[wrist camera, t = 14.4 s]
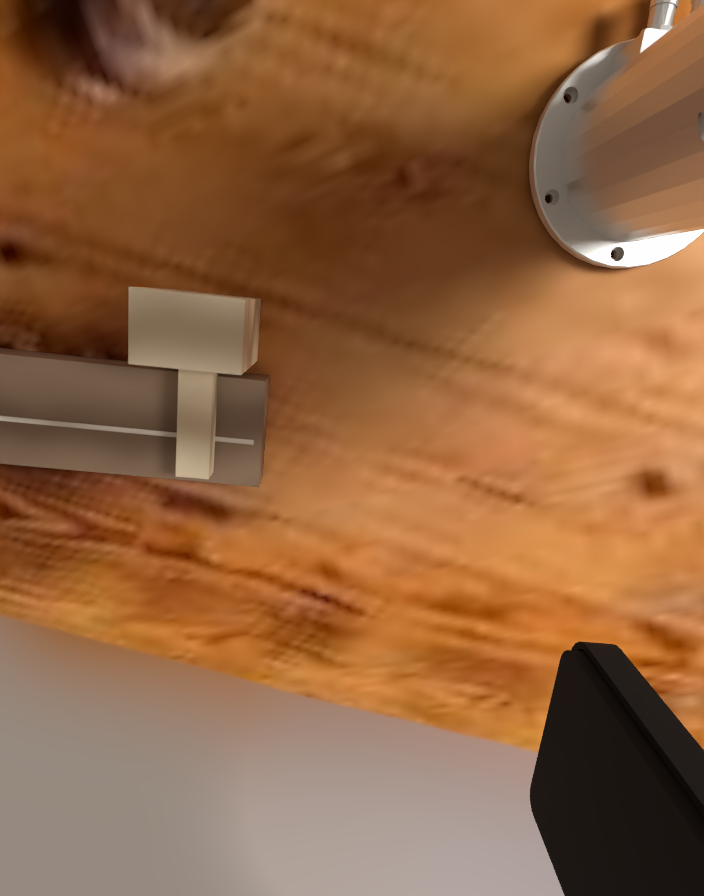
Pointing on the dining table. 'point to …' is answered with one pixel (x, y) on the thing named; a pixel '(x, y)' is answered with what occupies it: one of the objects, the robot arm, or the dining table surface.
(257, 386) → the plank
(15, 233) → the dining table surface
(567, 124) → the robot arm
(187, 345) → the beige t-shaped block
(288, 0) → the dining table surface
